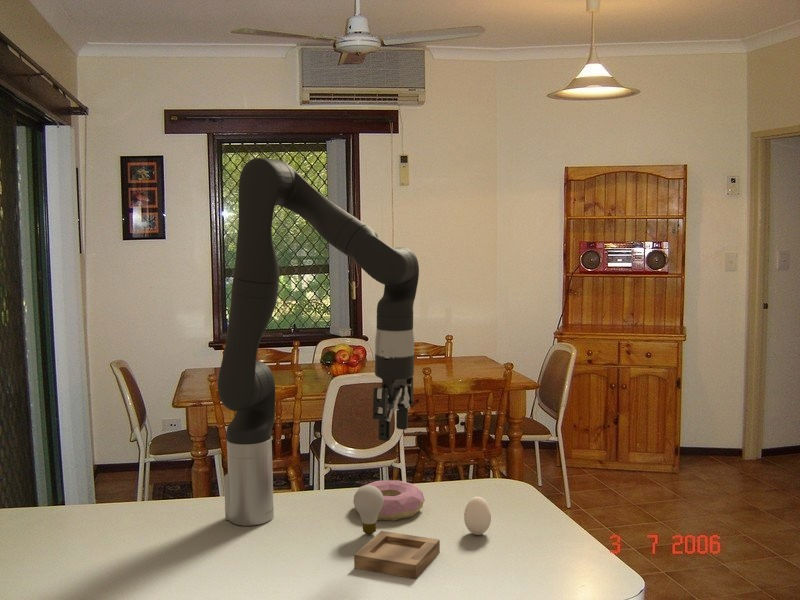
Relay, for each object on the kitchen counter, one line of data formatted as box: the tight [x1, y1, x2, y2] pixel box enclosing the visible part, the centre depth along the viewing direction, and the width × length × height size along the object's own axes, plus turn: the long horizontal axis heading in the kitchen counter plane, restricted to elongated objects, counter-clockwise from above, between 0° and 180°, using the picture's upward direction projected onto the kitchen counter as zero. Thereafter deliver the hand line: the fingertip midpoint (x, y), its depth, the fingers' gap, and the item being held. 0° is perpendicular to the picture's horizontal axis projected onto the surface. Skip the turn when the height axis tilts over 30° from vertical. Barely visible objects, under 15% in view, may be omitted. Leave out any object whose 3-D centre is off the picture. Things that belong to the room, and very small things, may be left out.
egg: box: [463, 496, 492, 536], centre depth 159 cm, size 5×5×8 cm
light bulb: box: [353, 484, 384, 536], centre depth 159 cm, size 6×6×10 cm
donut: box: [353, 479, 426, 522], centre depth 173 cm, size 16×15×5 cm
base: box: [353, 530, 441, 580], centre depth 148 cm, size 12×12×2 cm
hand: (393, 434), depth 155 cm, fingers open, 8 cm apart
